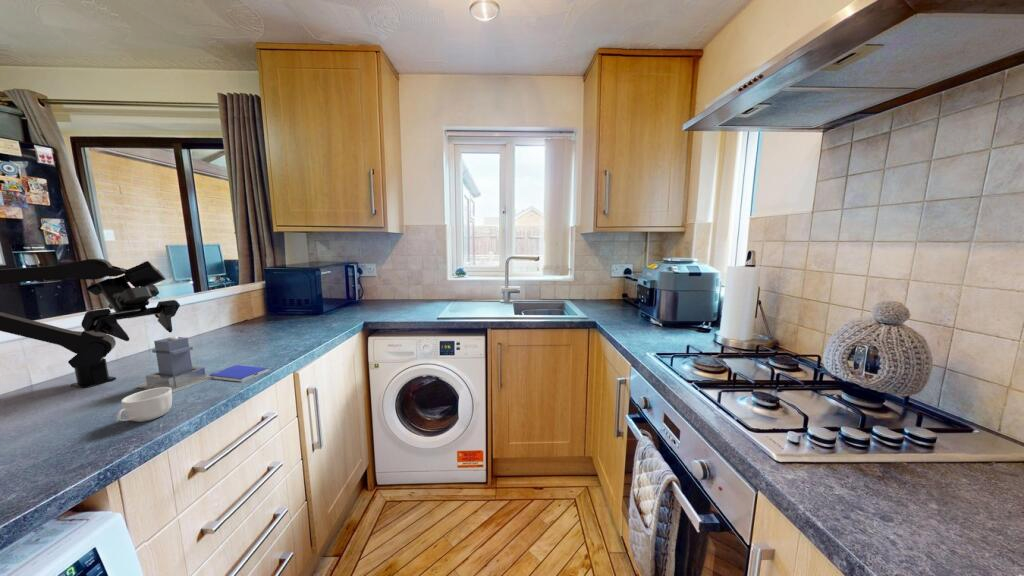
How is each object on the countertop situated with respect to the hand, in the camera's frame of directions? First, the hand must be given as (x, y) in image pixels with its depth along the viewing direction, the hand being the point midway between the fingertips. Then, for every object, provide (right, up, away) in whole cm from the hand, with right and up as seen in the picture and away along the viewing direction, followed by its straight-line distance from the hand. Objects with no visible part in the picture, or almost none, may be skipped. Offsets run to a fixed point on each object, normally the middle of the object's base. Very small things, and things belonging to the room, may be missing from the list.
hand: (150, 335), depth 94 cm
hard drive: (+21, -13, +6) cm, 25 cm away
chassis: (+7, -14, 0) cm, 15 cm away
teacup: (+20, -16, -20) cm, 33 cm away
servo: (+7, -13, 0) cm, 15 cm away
